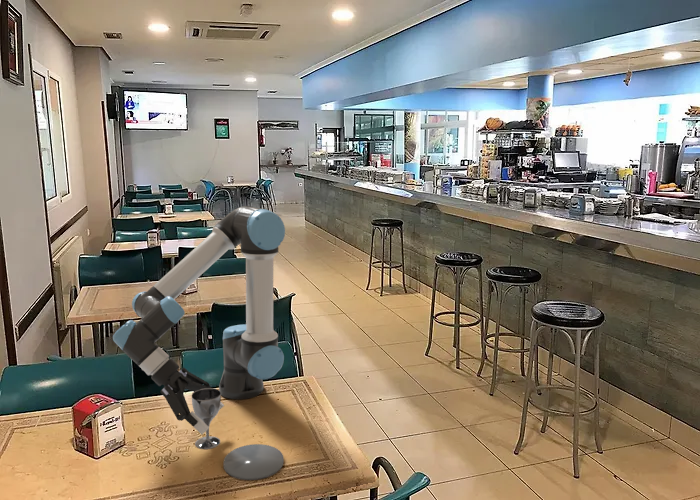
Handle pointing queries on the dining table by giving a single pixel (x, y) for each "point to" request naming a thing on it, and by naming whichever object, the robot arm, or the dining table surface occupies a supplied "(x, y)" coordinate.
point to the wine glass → (206, 413)
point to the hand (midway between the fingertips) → (213, 419)
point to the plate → (253, 462)
